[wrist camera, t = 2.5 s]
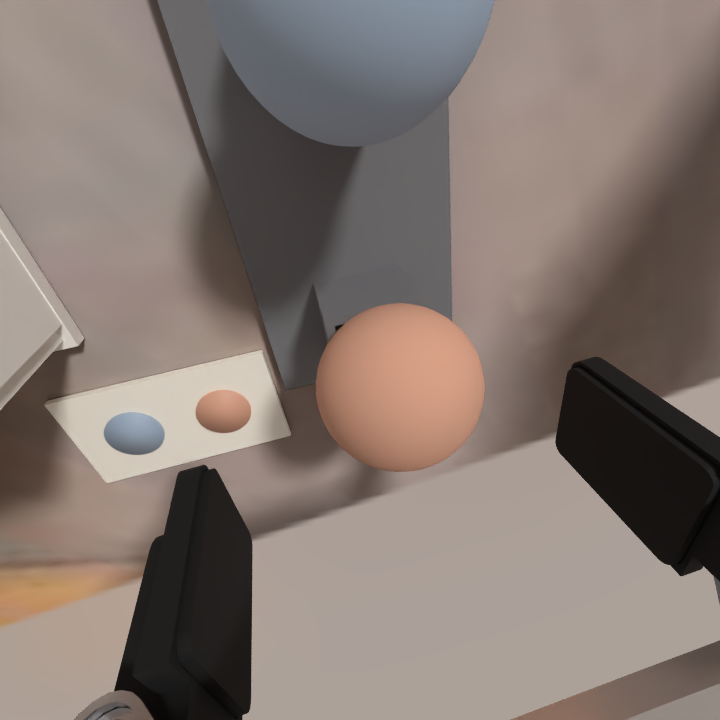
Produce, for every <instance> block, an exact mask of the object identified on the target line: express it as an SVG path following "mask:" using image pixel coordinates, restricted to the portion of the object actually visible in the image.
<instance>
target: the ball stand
mask: <svg viewBox="0 0 720 720" xmlns="http://www.w3.org/2000/svg"><path fill="white" fill-rule="evenodd" d="M157 1H158V4H159V7H160V10H161V13H162V16H163V20H164V23H165V26H166V29H167V32H168V35H169V38H170V41H171V44H172V47H173V50H174V53H175V56H176V59H177V62H178V65H179V68H180V71H181V74H182V77H183V80H184V83H185V86H186V89H187V92H188V95H189V98H190V101H191V104H192V107H193V111H194V114H195V117H196V120H197V123H198V126H199V129H200V132H201V135H202V138H203V141H204V144H205V147H206V150H207V153H208V156H209V159H210V162H211V165H212V168H213V171H214V174H215V177H216V180H217V183H218V186H219V189H220V192H221V195H222V198H223V201H224V205H225V208H226V211H227V214H228V217H229V220H230V223H231V226H232V229H233V232H234V235H235V238H236V241H237V244H238V247H239V250H240V253H241V256H242V259H243V262H244V265H245V268H246V271H247V274H248V277H249V280H250V283H251V286H252V289H253V292H254V296H255V299H256V302H257V305H258V308H259V311H260V314H261V317H262V320H263V323H264V326H265V329H266V332H267V335H268V338H269V341H270V344H271V347H272V350H273V353H274V356H275V359H276V362H277V365H278V368H279V371H280V374H281V377H282V380H283V383H284V386H285V390H290V389H294V388H298V387H302V386H306V385H310V384H314V383H316V377H317V370H318V366H319V362H320V359H321V357H322V354H323V352H324V350H325V348H326V346H327V344H328V342H329V341H330V339H331V338H332V337H333V335H334V334H335V333H336V332H337V331H338V330H339V329H340V328H341V327H342V326H343V325H344V324H345V323H346V322H347V321H349V320H350V319H351V318H353V317H354V316H356V315H358V314H359V313H361V312H363V311H366V310H368V309H370V308H373V307H377V306H380V305H386V304H394V303H406V304H413V305H418V306H422V307H426V308H429V309H431V310H434V311H436V312H438V313H440V314H441V315H443V316H445V317H447V318H448V319H449V320H451V321H452V287H451V229H450V171H449V113H448V98H447V99H446V100H445V101H444V102H443V103H442V104H441V105H440V106H439V108H438V109H437V110H436V111H435V112H433V113H432V114H431V115H430V116H429V117H427V118H426V119H425V120H424V121H422V122H421V123H420V124H418V125H417V126H415V127H414V128H412V129H411V130H409V131H407V132H406V133H404V134H402V135H400V136H398V137H395V138H393V139H391V140H389V141H385V142H381V143H378V144H374V145H366V146H358V147H350V146H336V145H331V144H325V143H322V142H319V141H316V140H313V139H310V138H307V137H305V136H304V135H302V134H300V133H298V132H296V131H294V130H292V129H291V128H289V127H288V126H286V125H285V124H283V123H282V122H280V121H279V120H277V119H276V118H275V117H274V116H273V115H272V114H271V113H270V112H268V111H267V110H266V109H265V108H264V107H263V106H262V105H261V104H260V103H259V102H258V101H257V99H256V98H255V97H254V96H253V95H252V94H251V93H250V92H249V90H248V89H247V87H246V86H245V85H244V83H243V82H242V80H241V79H240V78H239V76H238V75H237V73H236V72H235V70H234V68H233V66H232V65H231V63H230V61H229V59H228V58H227V56H226V54H225V52H224V50H223V48H222V45H221V43H220V41H219V39H218V36H217V34H216V32H215V30H214V27H213V23H212V20H211V17H210V14H209V11H208V8H207V5H206V1H205V0H157Z"/></svg>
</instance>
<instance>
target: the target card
mask: <svg viewBox="0 0 720 720" xmlns="http://www.w3.org/2000/svg"><path fill="white" fill-rule="evenodd" d="M44 406H45V407H46V408H47V409H48V411H49V412H50V413H51V414H52V416H53V417H54V418H55V419H56V420H57V422H58V423H59V424H60V425H61V427H62V428H63V429H64V430H65V432H66V433H67V434H68V435H69V437H70V438H71V439H72V440H73V442H74V443H75V444H76V445H77V447H78V448H79V449H80V450H81V452H82V453H83V454H84V455H85V457H86V458H87V459H88V460H89V462H90V463H91V464H92V465H93V467H94V468H95V469H96V470H97V472H98V473H99V474H100V475H101V477H102V478H103V479H104V480H105V482H106V483H110V482H114V481H118V480H122V479H126V478H130V477H133V476H137V475H141V474H145V473H149V472H153V471H157V470H161V469H164V468H168V467H172V466H176V465H180V464H184V463H188V462H191V461H195V460H199V459H203V458H207V457H211V456H215V455H218V454H222V453H226V452H230V451H234V450H238V449H242V448H246V447H249V446H253V445H257V444H261V443H265V442H269V441H273V440H276V439H280V438H284V437H288V436H291V431H290V428H289V425H288V423H287V420H286V417H285V414H284V411H283V408H282V405H281V402H280V400H279V397H278V394H277V391H276V388H275V385H274V382H273V379H272V376H271V374H270V371H269V368H268V365H267V362H266V359H265V356H264V353H263V351H262V350H259V351H255V352H251V353H247V354H242V355H238V356H234V357H230V358H225V359H221V360H217V361H213V362H208V363H204V364H200V365H196V366H192V367H187V368H183V369H179V370H175V371H170V372H166V373H162V374H158V375H154V376H149V377H145V378H141V379H137V380H132V381H128V382H124V383H120V384H115V385H111V386H107V387H103V388H99V389H94V390H90V391H86V392H82V393H77V394H73V395H69V396H65V397H61V398H56V399H52V400H48V401H47V402H46V403H45V405H44Z"/></svg>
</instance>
